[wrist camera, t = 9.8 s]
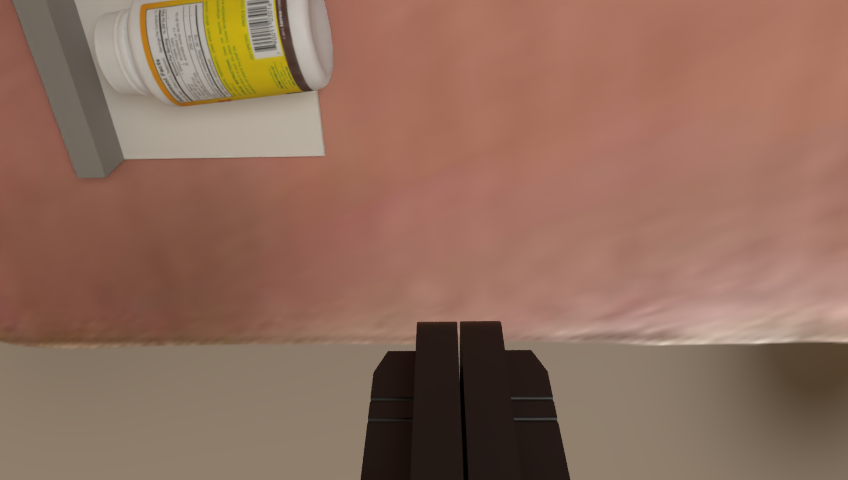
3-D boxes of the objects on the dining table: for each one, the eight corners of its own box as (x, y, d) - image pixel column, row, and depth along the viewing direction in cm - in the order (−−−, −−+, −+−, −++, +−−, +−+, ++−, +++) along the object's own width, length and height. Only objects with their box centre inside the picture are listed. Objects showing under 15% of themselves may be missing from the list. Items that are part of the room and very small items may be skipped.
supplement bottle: (338, 32, 33) (156, 54, 34) (307, -61, 28) (96, -32, 29) (334, 114, 30) (137, 135, 31) (300, 27, 25) (67, 55, 26)
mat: (8, -116, 29) (-30, -113, 26) (291, -124, 28) (278, -122, 26) (101, 156, 36) (77, 178, 34) (325, 153, 36) (317, 174, 34)
